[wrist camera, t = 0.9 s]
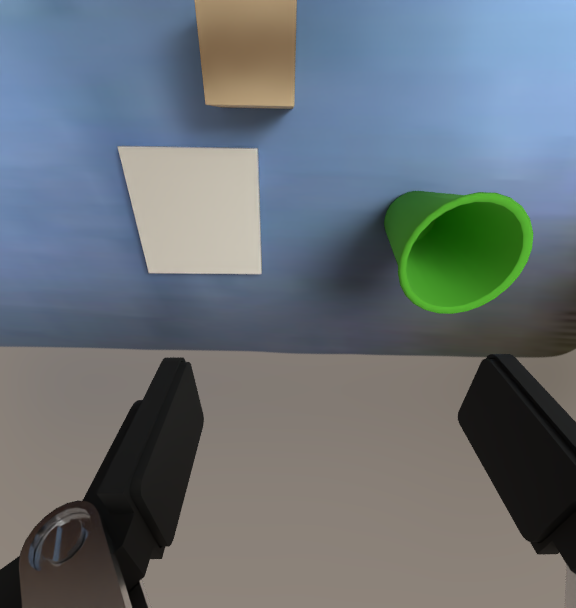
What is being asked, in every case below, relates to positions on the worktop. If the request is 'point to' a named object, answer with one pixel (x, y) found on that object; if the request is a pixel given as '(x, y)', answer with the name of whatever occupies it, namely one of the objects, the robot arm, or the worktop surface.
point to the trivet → (196, 207)
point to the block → (247, 52)
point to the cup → (457, 247)
